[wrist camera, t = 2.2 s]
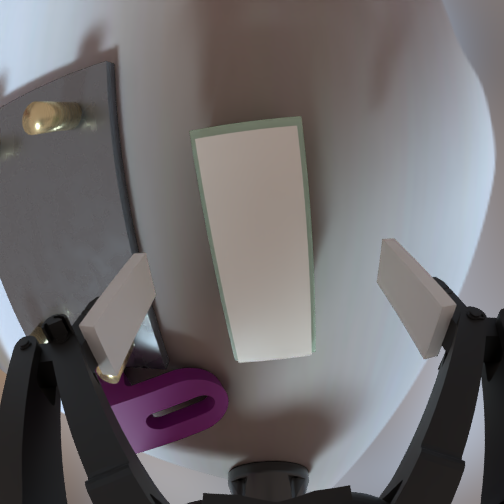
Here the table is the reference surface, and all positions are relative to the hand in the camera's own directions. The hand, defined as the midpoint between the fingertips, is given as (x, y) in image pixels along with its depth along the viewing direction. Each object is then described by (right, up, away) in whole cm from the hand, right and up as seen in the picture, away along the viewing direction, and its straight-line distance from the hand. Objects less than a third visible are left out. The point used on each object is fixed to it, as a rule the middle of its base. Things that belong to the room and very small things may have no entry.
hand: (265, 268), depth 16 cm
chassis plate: (-21, +2, +9) cm, 23 cm away
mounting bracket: (-13, -16, +17) cm, 27 cm away
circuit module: (0, +3, +8) cm, 9 cm away
